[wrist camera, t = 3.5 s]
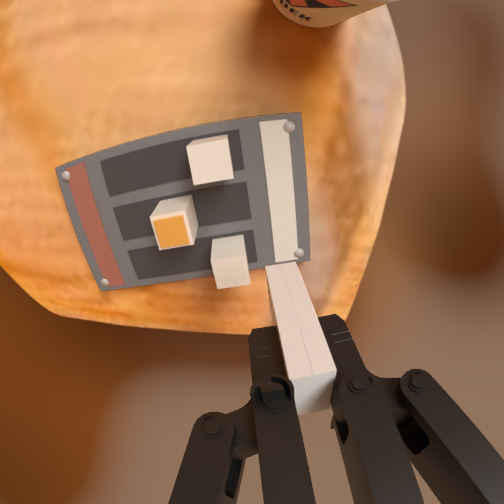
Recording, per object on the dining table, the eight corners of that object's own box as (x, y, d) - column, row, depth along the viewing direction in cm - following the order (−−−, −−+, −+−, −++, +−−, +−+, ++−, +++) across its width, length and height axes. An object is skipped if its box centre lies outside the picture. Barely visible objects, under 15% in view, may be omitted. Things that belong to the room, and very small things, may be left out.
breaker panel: (105, 283, 30) (88, 314, 25) (62, 164, 23) (32, 179, 18) (306, 253, 30) (321, 283, 25) (296, 112, 23) (314, 113, 18)
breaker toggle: (168, 229, 26) (158, 252, 22) (160, 200, 24) (148, 218, 20) (198, 224, 26) (193, 246, 22) (191, 194, 24) (185, 211, 20)
